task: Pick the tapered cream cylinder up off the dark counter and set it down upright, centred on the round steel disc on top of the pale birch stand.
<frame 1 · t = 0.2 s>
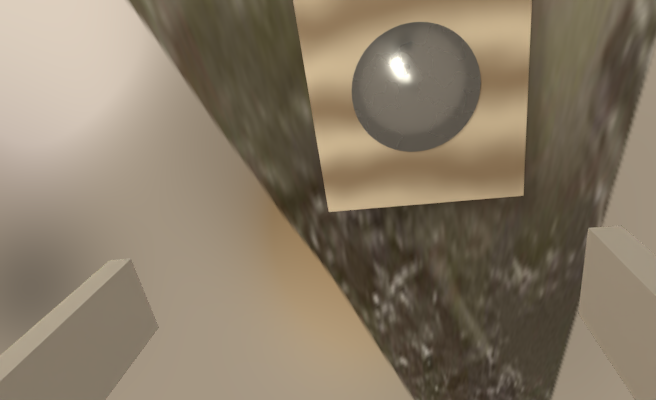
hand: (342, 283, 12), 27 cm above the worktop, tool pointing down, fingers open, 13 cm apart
birch stand: (411, 83, 35), on the worktop
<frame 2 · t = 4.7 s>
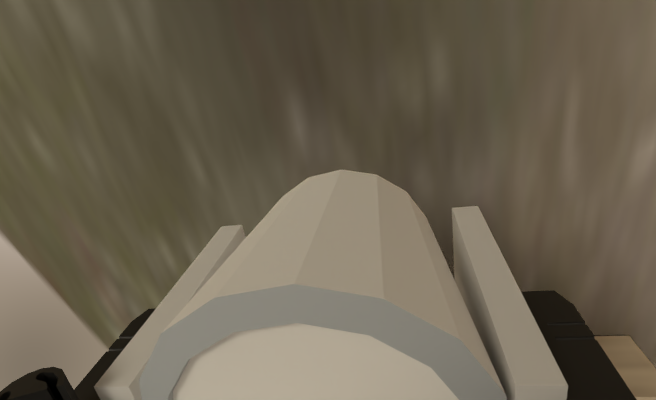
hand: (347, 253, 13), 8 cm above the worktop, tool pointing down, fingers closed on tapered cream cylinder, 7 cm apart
tapered cream cylinder: (348, 244, 14), point 7 cm above the worktop, touching gripper
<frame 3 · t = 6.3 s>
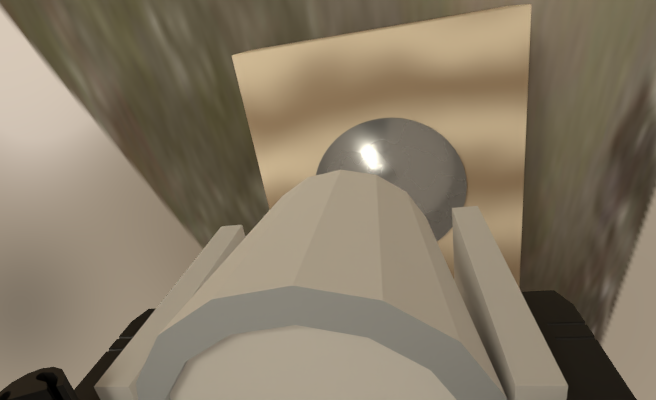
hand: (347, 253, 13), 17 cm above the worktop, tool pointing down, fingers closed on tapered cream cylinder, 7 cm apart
tapered cream cylinder: (347, 245, 14), point 17 cm above the worktop, touching gripper
birch stand: (388, 170, 30), on the worktop
when the fingers open (6 cm above the worktop, at t = 8.3 s): tapered cream cylinder drops 1 cm, resting on birch stand.
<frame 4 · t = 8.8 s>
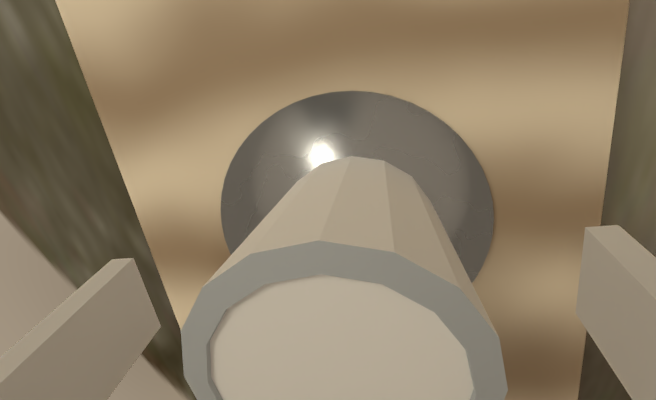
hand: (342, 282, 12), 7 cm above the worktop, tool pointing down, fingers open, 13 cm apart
tapered cream cylinder: (357, 226, 15), point 4 cm above the worktop, touching birch stand
birch stand: (358, 186, 18), on the worktop
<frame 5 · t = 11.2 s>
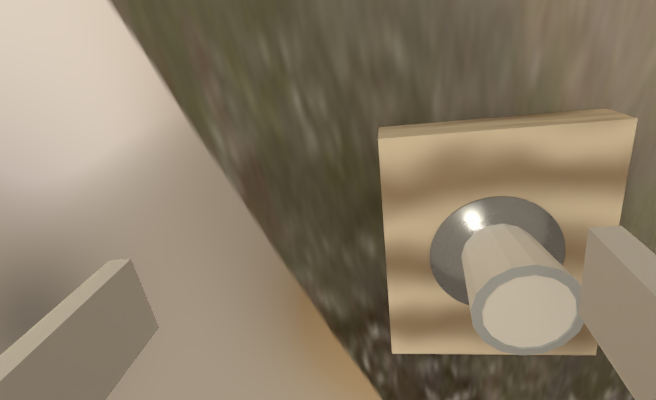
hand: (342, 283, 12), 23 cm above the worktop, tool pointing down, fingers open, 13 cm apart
tapered cream cylinder: (498, 254, 31), point 4 cm above the worktop, touching birch stand
birch stand: (483, 231, 35), on the worktop
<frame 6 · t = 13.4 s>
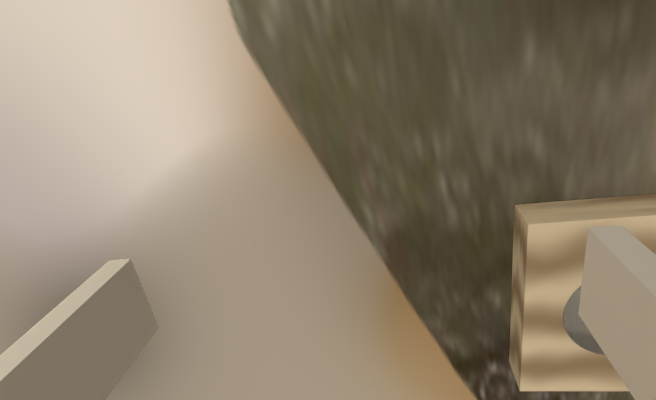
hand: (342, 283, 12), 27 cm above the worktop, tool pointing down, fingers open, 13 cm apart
birch stand: (600, 286, 40), on the worktop
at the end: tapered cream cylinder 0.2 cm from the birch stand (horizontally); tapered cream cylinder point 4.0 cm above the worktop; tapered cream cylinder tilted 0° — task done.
